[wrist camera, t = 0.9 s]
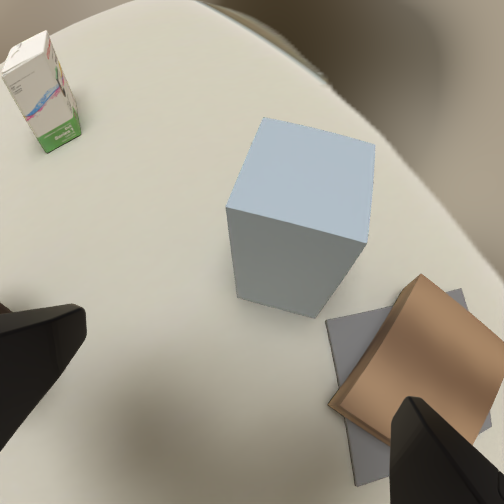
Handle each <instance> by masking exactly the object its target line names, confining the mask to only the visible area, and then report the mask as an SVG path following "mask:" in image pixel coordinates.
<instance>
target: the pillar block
mask: <svg viewBox="0 0 504 504" xmlns="http://www.w3.org/2000/svg"><path fill="white" fill-rule="evenodd" d="M374 162H375V145H374V144H371V143H368V142H364V141H361V140H357V139H354V138H350V137H347V136H343V135H339V134H335V133H332V132H328V131H324V130H320V129H316V128H312V127H307V126H303V125H299V124H294V123H289V122H285V121H280V120H275V119H270V118H265V117H263V119H262V122H261V124H260V126H259V128H258V131H257V133H256V135H255V138H254V140H253V142H252V145H251V147H250V149H249V152H248V154H247V156H246V159H245V161H244V164H243V166H242V168H241V171H240V173H239V175H238V178H237V180H236V183H235V185H234V188H233V190H232V192H231V195H230V197H229V200H228V202H227V205H226V214H227V222H228V230H229V238H230V246H231V254H232V261H233V269H234V277H235V284H236V292H237V298H241V299H244V300H248V301H251V302H255V303H259V304H262V305H266V306H269V307H273V308H277V309H281V310H284V311H288V312H292V313H296V314H300V315H303V316H307V317H311V318H315V317H316V316H317V315H318V313H319V312H320V311H321V309H322V308H323V307H324V305H325V304H326V302H327V301H328V300H329V298H330V297H331V295H332V294H333V293H334V291H335V290H336V288H337V287H338V286H339V284H340V283H341V281H342V280H343V278H344V277H345V276H346V274H347V273H348V271H349V270H350V268H351V267H352V265H353V264H354V262H355V261H356V259H357V258H358V256H359V255H360V253H361V252H362V250H363V249H364V247H365V246H366V244H367V240H368V232H369V223H370V213H371V203H372V191H373V178H374Z"/></svg>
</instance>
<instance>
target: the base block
mask: <svg viewBox="0 0 504 504" xmlns="http://www.w3.org/2000/svg"><path fill="white" fill-rule="evenodd" d="M503 378H504V342H503V341H502V340H501V339H500V338H499V337H498V336H497V335H496V334H494V333H493V332H492V331H491V330H490V329H489V328H488V327H486V326H485V325H484V324H483V323H482V322H481V321H479V320H478V319H477V318H476V317H475V316H473V315H472V314H471V313H470V312H469V311H467V310H466V309H465V308H464V307H463V306H461V305H460V304H459V303H458V302H457V301H455V300H454V299H453V298H452V297H450V296H449V295H448V294H447V293H445V292H444V291H443V290H442V289H440V288H439V287H438V286H437V285H435V284H434V283H433V282H431V281H430V280H429V279H428V278H426V277H425V276H424V275H422V274H420V275H419V276H417V277H416V278H415V279H414V280H413V281H412V282H411V283H409V284H408V285H407V286H406V287H405V288H404V289H403V290H402V292H401V293H400V295H399V297H398V299H397V301H396V302H395V304H394V306H393V307H392V309H391V311H390V313H389V314H388V316H387V318H386V319H385V321H384V323H383V324H382V326H381V327H380V329H379V331H378V332H377V334H376V335H375V337H374V339H373V340H372V342H371V343H370V345H369V346H368V348H367V349H366V351H365V353H364V354H363V356H362V357H361V359H360V360H359V362H358V363H357V364H356V366H355V367H354V369H353V370H352V372H351V373H350V375H349V376H348V377H347V379H346V380H345V382H344V383H343V384H342V386H341V387H340V389H339V390H338V391H337V393H336V394H335V395H334V397H333V398H332V399H331V401H330V402H329V403H328V405H329V406H330V407H332V408H333V409H334V410H336V411H337V412H339V413H340V414H342V415H343V416H344V417H346V418H347V419H349V420H350V421H352V422H353V423H355V424H356V425H358V426H359V427H361V428H362V429H364V430H365V431H367V432H368V433H370V434H371V435H373V436H374V437H376V438H377V439H379V440H380V441H382V442H384V443H385V444H387V445H388V446H390V439H391V421H392V419H393V416H394V415H395V413H396V412H397V410H398V408H399V407H400V405H401V403H402V402H403V400H404V399H405V398H406V397H407V396H415V397H420V398H422V399H423V400H424V401H425V402H426V403H427V404H429V405H430V406H431V407H432V408H433V409H434V410H435V411H436V412H437V413H438V414H439V415H440V416H441V417H443V418H444V419H445V420H446V421H447V422H448V423H449V424H450V425H451V426H452V427H453V428H454V429H455V430H457V431H458V432H459V433H460V434H461V435H462V436H463V437H464V438H465V439H466V440H467V441H468V442H469V443H470V444H472V445H473V443H474V441H475V439H476V437H477V436H478V434H479V432H480V430H481V428H482V426H483V424H484V422H485V420H486V417H487V415H488V413H489V411H490V409H491V407H492V404H493V402H494V400H495V398H496V395H497V393H498V390H499V388H500V386H501V383H502V381H503Z"/></svg>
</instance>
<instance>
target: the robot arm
mask: <svg viewBox="0 0 504 504" xmlns="http://www.w3.org/2000/svg"><path fill="white" fill-rule="evenodd" d="M86 335H87V327H86V312H85V310H84V308H82V307H80V306H78V305H75V304H66V305H59V306H53V307H46V308H40V309H33V310H26V311H20V312H13V313H6V314H0V452H1V450H2V449H3V448H4V446H5V445H6V444H7V442H8V441H9V440H10V438H11V437H12V436H13V434H14V433H15V432H16V430H17V429H18V428H19V427H20V425H21V424H22V423H23V421H24V420H25V419H26V418H27V416H28V415H29V414H30V413H31V411H32V410H33V409H34V408H35V406H36V405H37V404H38V403H39V401H40V400H41V399H42V398H43V396H44V395H45V394H46V393H47V392H48V390H49V389H50V388H51V387H52V386H53V384H54V383H55V382H56V381H57V379H58V378H59V377H60V376H61V374H62V373H63V371H64V370H65V368H66V367H67V365H68V364H69V362H70V361H71V359H72V358H73V357H74V355H75V354H76V352H77V351H78V349H79V348H80V346H81V345H82V343H83V342H84V340H85V338H86ZM498 471H499V470H498V469H497V468H496V467H495V466H494V465H493V464H492V463H491V462H490V461H489V460H488V459H487V458H485V457H484V456H483V455H482V454H481V453H480V452H479V451H478V450H477V449H476V448H475V447H474V446H473V445H472V444H470V443H469V442H468V441H467V440H466V439H465V438H464V437H463V436H462V435H461V434H460V433H459V432H458V431H457V430H455V429H454V428H453V427H452V426H451V425H450V424H449V423H448V422H447V421H446V420H445V419H444V418H443V417H441V416H440V415H439V414H438V413H437V412H436V411H435V410H434V409H433V408H432V407H431V406H430V405H429V404H427V403H426V402H425V401H424V400H423V399H422V398H420V397H415V396H407V397H406V398H405V399H404V400H403V402H402V403H401V405H400V407H399V408H398V410H397V412H396V413H395V415H394V416H393V419H392V421H391V439H390V463H389V479H390V504H504V474H503V473H502V472H500V471H499V472H498Z"/></svg>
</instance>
